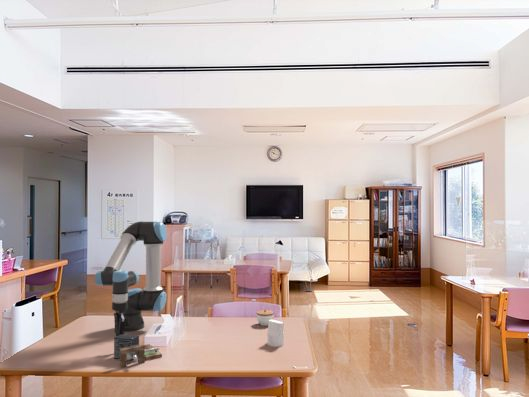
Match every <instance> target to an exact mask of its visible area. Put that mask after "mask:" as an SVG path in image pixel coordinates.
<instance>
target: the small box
mask: <svg viewBox="0 0 529 397" xmlns="http://www.w3.org/2000/svg"><path fill="white" fill-rule="evenodd" d="M113 342H114V343H113V359H114V360H120V348H121V347H127V346H132V345H137V344H139V345H140V335H138V334H125V333H124V334H120V335H118V336H116V335H115V337H113ZM129 361H135V360H134V359H130V360H129Z"/></svg>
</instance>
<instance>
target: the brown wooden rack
mask: <svg viewBox="0 0 529 397" xmlns="http://www.w3.org/2000/svg"><path fill="white" fill-rule="evenodd" d="M139 345H140V343H139V344H137V345H132V346H127V347H121V348H120V349H124V348H129V347H134V346H139ZM159 350H160V348H159V347H158V348H155V349H152V350H147V351H145V353H147V352H152V351H155V352H157V351H159ZM130 359H134V360H133V361H137V362H138V352H133V353H128V354H127V361H131V360H130Z"/></svg>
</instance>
